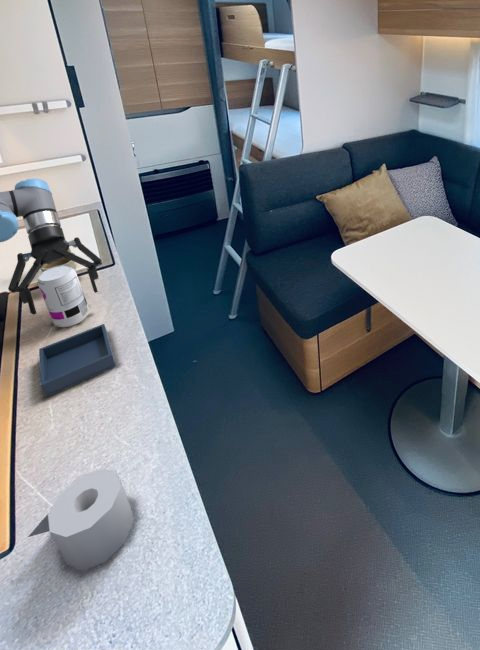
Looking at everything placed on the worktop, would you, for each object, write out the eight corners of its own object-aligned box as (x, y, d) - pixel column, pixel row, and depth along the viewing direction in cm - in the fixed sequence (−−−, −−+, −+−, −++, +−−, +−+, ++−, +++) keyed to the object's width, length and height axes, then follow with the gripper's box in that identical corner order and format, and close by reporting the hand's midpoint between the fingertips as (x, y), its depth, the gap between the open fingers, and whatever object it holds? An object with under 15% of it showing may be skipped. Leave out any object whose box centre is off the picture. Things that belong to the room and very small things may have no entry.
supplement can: (50, 332, 107) (31, 285, 102) (58, 313, 114) (40, 268, 109) (87, 323, 110) (70, 277, 105) (92, 305, 117) (76, 260, 112)
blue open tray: (44, 360, 99) (39, 348, 97) (107, 334, 106) (104, 323, 105) (46, 397, 89) (40, 385, 88) (116, 366, 97) (112, 354, 95)
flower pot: (65, 294, 122) (56, 270, 119) (38, 291, 124) (28, 267, 120) (90, 276, 131) (82, 252, 127) (65, 273, 132) (57, 250, 129)
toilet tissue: (45, 527, 66) (27, 494, 63) (137, 492, 71) (125, 459, 68) (26, 595, 59) (4, 561, 55) (130, 551, 63) (116, 517, 60)
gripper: (98, 221, 123) (120, 286, 118) (-11, 251, 109) (9, 325, 104) (96, 212, 118) (118, 279, 113) (-20, 241, 103) (0, 320, 98)
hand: (65, 302), depth 108 cm, fingers open, 13 cm apart
